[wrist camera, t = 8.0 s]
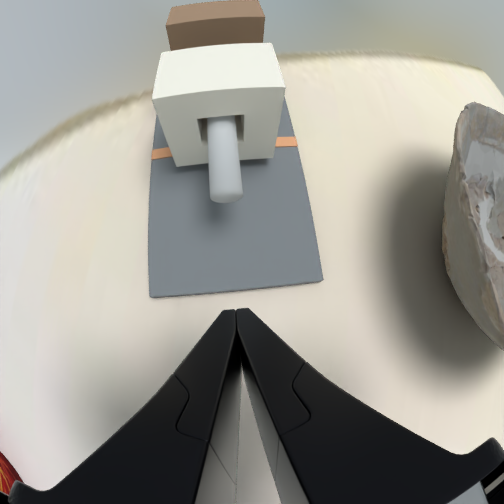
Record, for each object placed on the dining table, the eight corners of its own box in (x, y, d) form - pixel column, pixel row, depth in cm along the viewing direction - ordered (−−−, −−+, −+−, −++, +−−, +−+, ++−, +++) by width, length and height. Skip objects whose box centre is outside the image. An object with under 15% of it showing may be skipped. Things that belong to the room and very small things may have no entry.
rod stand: (320, 281, 19) (387, 240, 10) (153, 297, 19) (76, 270, 9) (275, 74, 25) (285, -3, 15) (163, 84, 24) (144, 9, 14)
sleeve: (273, 158, 20) (285, 87, 13) (176, 166, 19) (151, 99, 12) (264, 111, 21) (271, 42, 14) (178, 118, 20) (161, 52, 14)
